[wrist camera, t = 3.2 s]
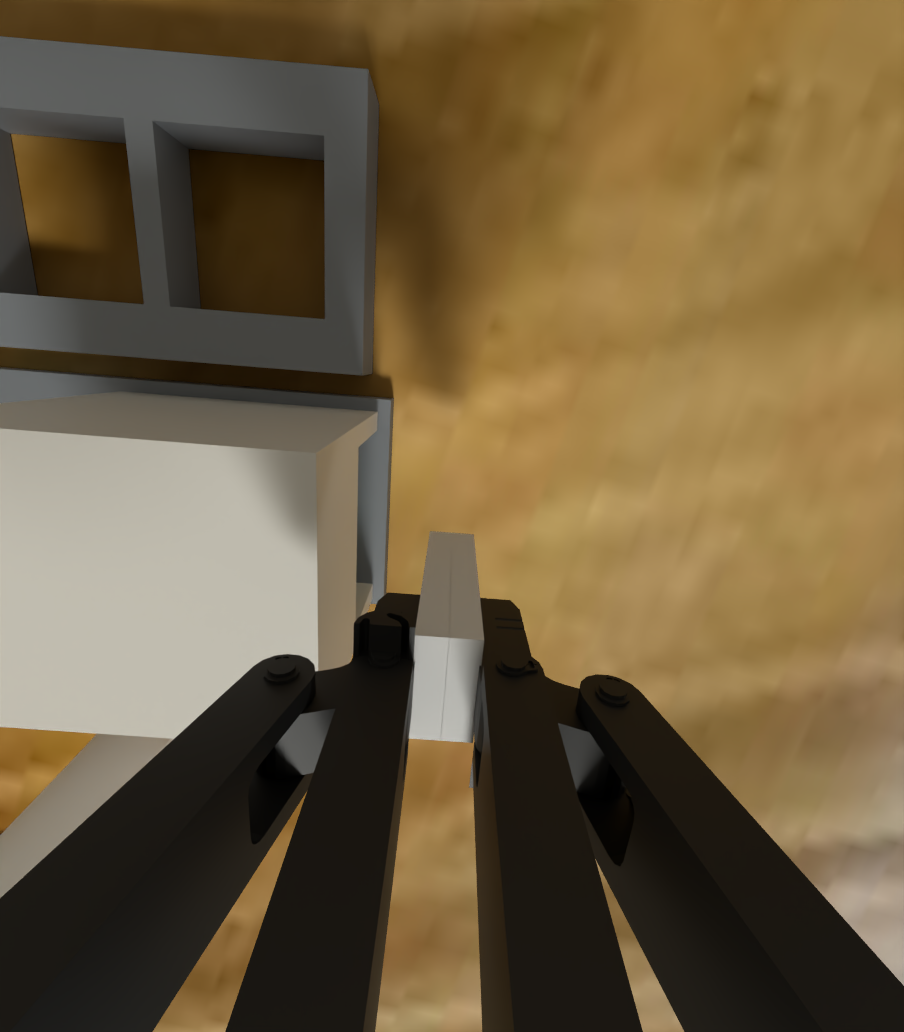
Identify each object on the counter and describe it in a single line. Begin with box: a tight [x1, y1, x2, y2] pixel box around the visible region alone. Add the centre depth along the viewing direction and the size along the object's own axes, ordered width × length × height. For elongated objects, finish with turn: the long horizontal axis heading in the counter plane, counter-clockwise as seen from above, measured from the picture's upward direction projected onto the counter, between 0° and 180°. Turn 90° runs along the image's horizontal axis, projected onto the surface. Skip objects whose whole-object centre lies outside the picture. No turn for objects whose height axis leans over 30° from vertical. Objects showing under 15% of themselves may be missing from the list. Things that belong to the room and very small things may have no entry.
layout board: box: [0, 367, 394, 604], centre depth 21 cm, size 23×10×5 cm, turn 86°
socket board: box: [0, 36, 379, 376], centre depth 19 cm, size 16×10×2 cm, turn 86°
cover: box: [0, 391, 378, 739], centre depth 18 cm, size 11×9×10 cm
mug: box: [0, 734, 173, 898], centre depth 22 cm, size 12×8×12 cm
